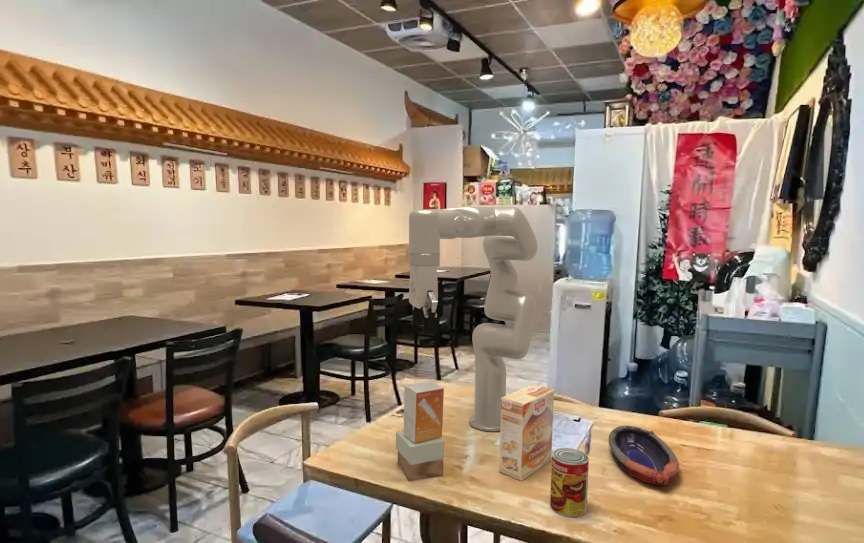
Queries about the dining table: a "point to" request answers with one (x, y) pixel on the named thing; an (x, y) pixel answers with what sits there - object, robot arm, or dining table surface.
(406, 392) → the small box
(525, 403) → the coffeecake box
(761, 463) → the dining table surface
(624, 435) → the dish
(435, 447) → the tower top
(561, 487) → the canned food
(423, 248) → the robot arm
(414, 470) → the tower base
